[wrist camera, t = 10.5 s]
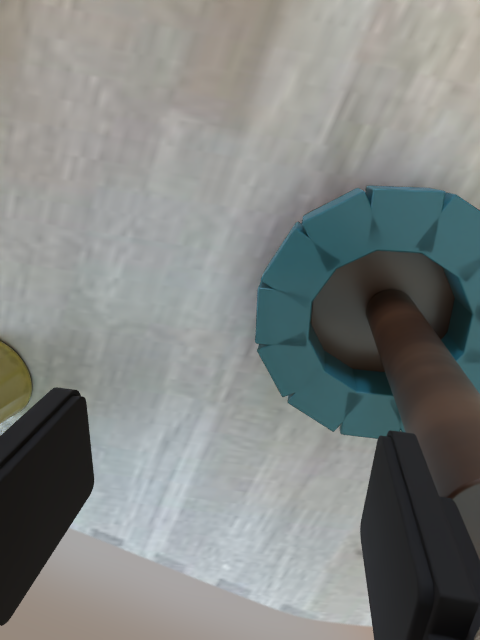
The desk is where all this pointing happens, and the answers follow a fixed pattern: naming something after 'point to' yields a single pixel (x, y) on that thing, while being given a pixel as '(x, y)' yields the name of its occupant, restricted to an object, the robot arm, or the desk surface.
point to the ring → (341, 249)
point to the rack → (409, 361)
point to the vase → (13, 383)
